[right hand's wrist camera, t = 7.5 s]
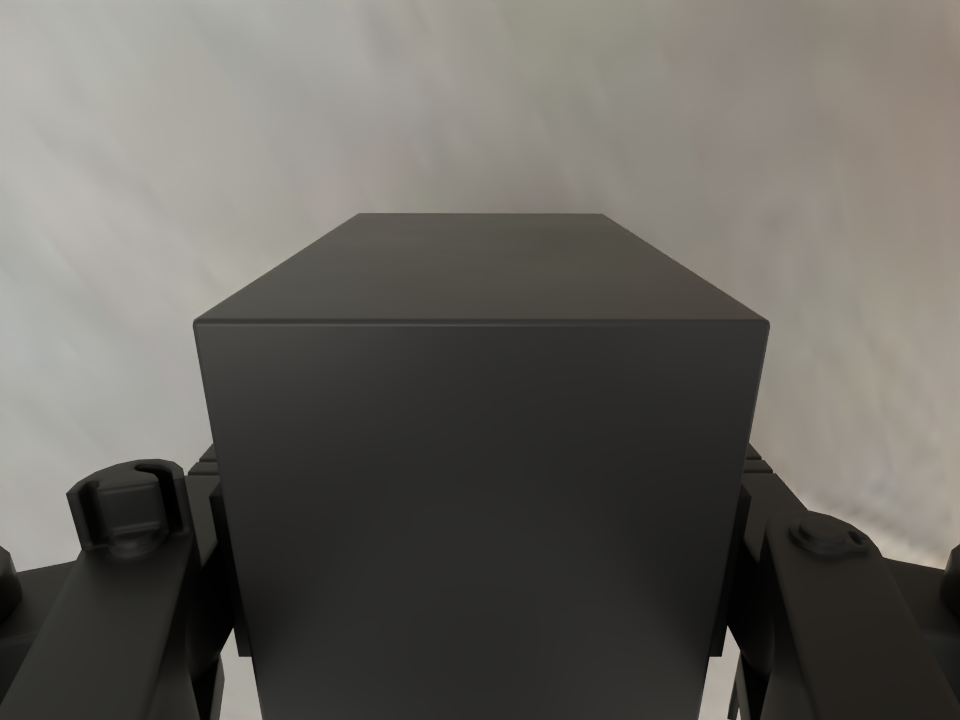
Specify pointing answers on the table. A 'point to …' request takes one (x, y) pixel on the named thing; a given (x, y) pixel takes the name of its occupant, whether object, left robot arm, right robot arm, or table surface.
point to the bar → (480, 468)
